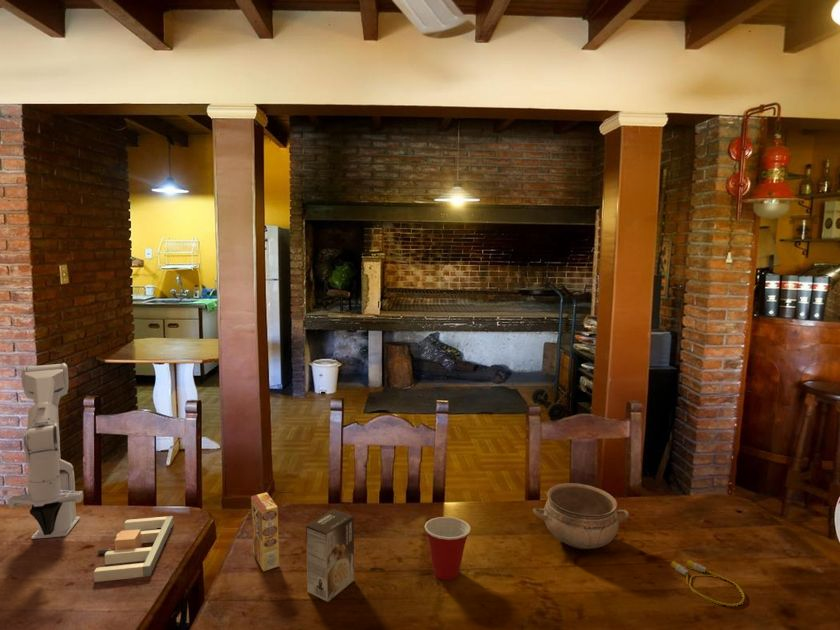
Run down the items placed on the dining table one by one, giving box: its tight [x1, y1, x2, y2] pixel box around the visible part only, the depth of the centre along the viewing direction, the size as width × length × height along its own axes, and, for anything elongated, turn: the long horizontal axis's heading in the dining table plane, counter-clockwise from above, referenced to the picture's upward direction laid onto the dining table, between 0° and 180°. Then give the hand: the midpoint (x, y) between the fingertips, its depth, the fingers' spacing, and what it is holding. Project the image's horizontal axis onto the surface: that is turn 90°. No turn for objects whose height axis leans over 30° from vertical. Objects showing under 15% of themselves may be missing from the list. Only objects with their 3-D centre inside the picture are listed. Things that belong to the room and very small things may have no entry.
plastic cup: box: [423, 516, 471, 581], centre depth 124 cm, size 11×11×12 cm
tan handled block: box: [97, 529, 142, 555], centre depth 130 cm, size 4×9×4 cm, turn 101°
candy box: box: [250, 491, 280, 572], centre depth 127 cm, size 9×4×15 cm, turn 33°
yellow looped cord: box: [670, 559, 746, 607], centre depth 122 cm, size 12×16×2 cm
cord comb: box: [93, 515, 174, 583], centre depth 131 cm, size 23×12×2 cm, turn 13°
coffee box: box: [305, 508, 355, 603], centre depth 118 cm, size 9×6×16 cm
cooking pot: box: [532, 482, 630, 550], centre depth 138 cm, size 25×19×12 cm
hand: (49, 532), depth 123 cm, fingers closed
